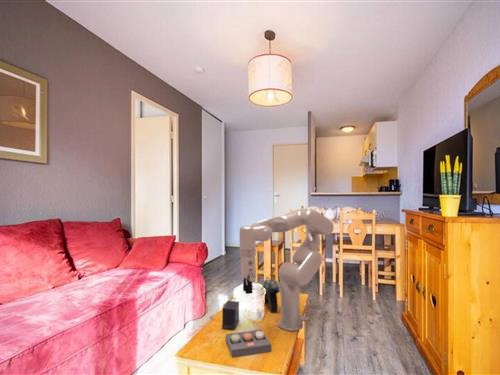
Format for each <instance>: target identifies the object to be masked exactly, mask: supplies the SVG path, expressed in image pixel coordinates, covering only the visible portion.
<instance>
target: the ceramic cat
mask: <svg viewBox="0 0 500 375" xmlns="http://www.w3.org/2000/svg"><path fill="white" fill-rule="evenodd" d="M269 276H270V277H269ZM269 276H268V277H266V279H265V280H264V281H263V285H262V288H263V287H264V288H265V289H266V294H265V305H267V304H269V312H270V313H271V314H277V313H278V304H279V303H278V297H277V294H279V293H280V288H279V284H278V282H277V280H276V279H273V275H272V274H271V273H270V275H269ZM270 278H271V279H270Z"/></svg>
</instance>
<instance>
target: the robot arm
mask: <svg viewBox="0 0 500 375" xmlns="http://www.w3.org/2000/svg"><path fill="white" fill-rule="evenodd" d="M302 226H305V233H306V234H305V235H306V236H305V239H304V240H303V242H302V243H301V244H300V245H299V247H298V248H297V249H296V250H295V252H294V253H293V255H292V260H293V262H290V261H286V262H283V263H281V265H280V266H279V268H278V278H279V281H280V320H278V322H277V325H278V327H279V328H280V329H281V330H284V331H287V332H295V331H296V332H297V331H300V330H302V329H303V328H304V322H309V321H310V319H309V316H304V315H301V311H300V310H301V307H300V304H301V303H300V302H301V301H300V296H301V295H300V294H301V293H300V287H301V288H302V287H305V286H307V285H308V284H309V283H310V281H311V280H312V279H313V277H314V276H315V275H316V273H317V272H318V270H320V267H321V265H322V263H323V257H322V254H321V253H320V252H319V251H318V250H319V248H320V247H321V239H320V235H321V236H330V235H331V234H332V233H333V232H334V228H335V227H334V223H333V222H332V220H330V219H329V218H328V217H326V216H325V215H323V214H321V213H320V212H318V211H316V210H315V209H312V208H310V209H309V208H299V209H296V210H293V211H290V212H288V213H285V214H282V215H278V216H275V217H272V218H271V217H270V218H266V219H263V220H260V221H258V222H254V223H252V224H251V225H242V226H240V228H239V257H240V258H241V259H240V272H241V275H242V276H243V277H242V279H243V280H242V281H243V282H242V285H243V287H242V288H243V289H242V291H243V292H245V294H246V295H247V294H248V295H250V294H253V281H254V280H253V279H256V278H257V274H256V273H257V272H256V270H257V268H256V260H255V259H256V258H255V257H256V242H257V241H258V242H267V241H269V240H271V238H272V236H273V233H285V232H286V233H287V232H289V231H291V230H294V229H297V228H299V227H302Z"/></svg>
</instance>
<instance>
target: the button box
mask: <svg viewBox="0 0 500 375" xmlns="http://www.w3.org/2000/svg"><path fill="white" fill-rule="evenodd" d="M257 331H263V330H262V329H253V330H248V331H240V332H232V333H225V342H226V344H227V349H228V351H229V354H230V357H231V358H237V357H244V356H250V355H251V356H253V355H258V354H263V353H270V352H272V344H271V342H270V341H269V339H268V337H267V336H266V335H265V333H264V339H263V340H256V332H257ZM247 332H248V333H251V334H252V341H249V342H244V333H247ZM233 334H238V335H239V336H240V342H239V343H235V344H232V343H231V336H232V335H233Z"/></svg>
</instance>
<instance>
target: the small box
mask: <svg viewBox="0 0 500 375" xmlns="http://www.w3.org/2000/svg"><path fill="white" fill-rule="evenodd" d="M221 321H222V325H221V327H222V328H221V329H222V330H228V331H229V330H230V331H233V330H235V329H236V328H237V325H238V324H239V322H240V301H234V300H233V301H232V300H227V302H226V303H225V305H223V307H222V320H221Z"/></svg>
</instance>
